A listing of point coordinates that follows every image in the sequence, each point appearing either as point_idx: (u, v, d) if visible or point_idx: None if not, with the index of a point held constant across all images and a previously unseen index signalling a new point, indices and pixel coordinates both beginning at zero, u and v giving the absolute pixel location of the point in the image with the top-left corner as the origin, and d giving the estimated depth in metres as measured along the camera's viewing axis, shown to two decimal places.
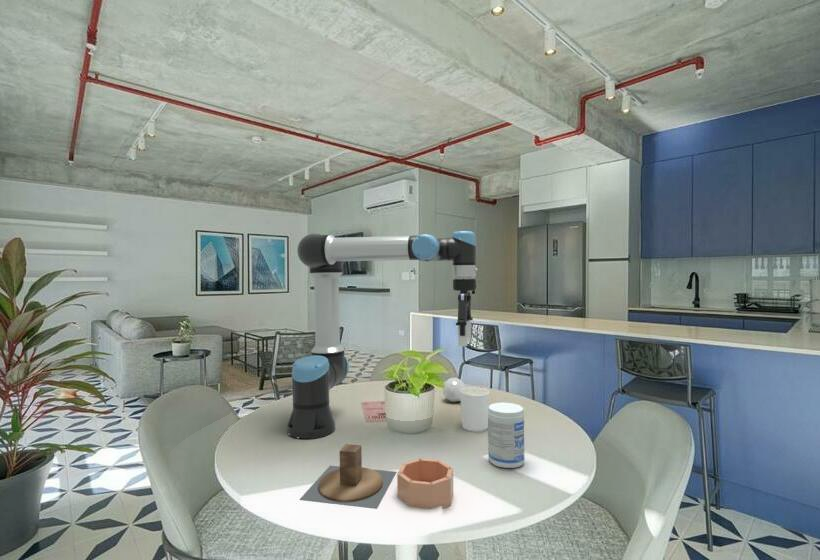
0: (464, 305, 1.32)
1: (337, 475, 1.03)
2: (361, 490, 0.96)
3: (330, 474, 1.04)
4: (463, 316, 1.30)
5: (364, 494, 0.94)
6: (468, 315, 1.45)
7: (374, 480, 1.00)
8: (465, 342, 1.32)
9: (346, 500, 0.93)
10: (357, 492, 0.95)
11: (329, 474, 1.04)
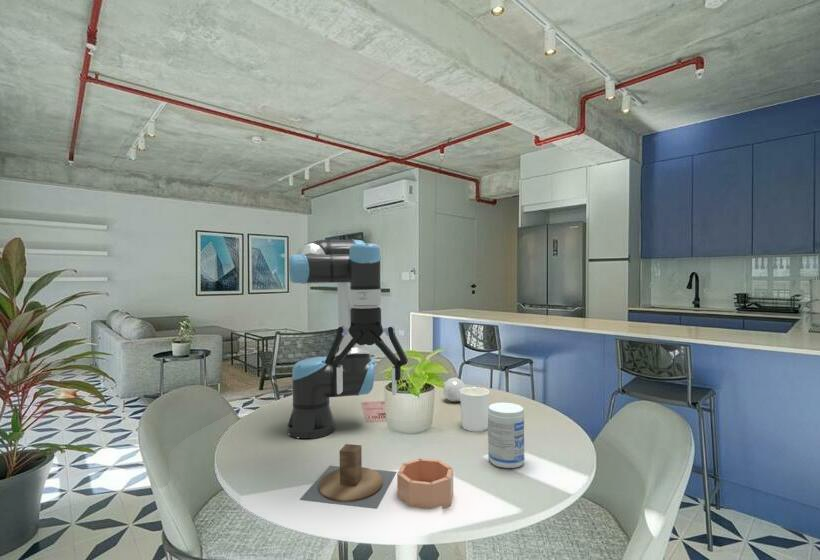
0: None
1: (337, 475, 1.03)
2: (361, 490, 0.96)
3: (330, 474, 1.04)
4: None
5: (364, 494, 0.94)
6: None
7: (374, 480, 1.00)
8: None
9: (346, 500, 0.93)
10: (357, 492, 0.95)
11: (329, 474, 1.04)
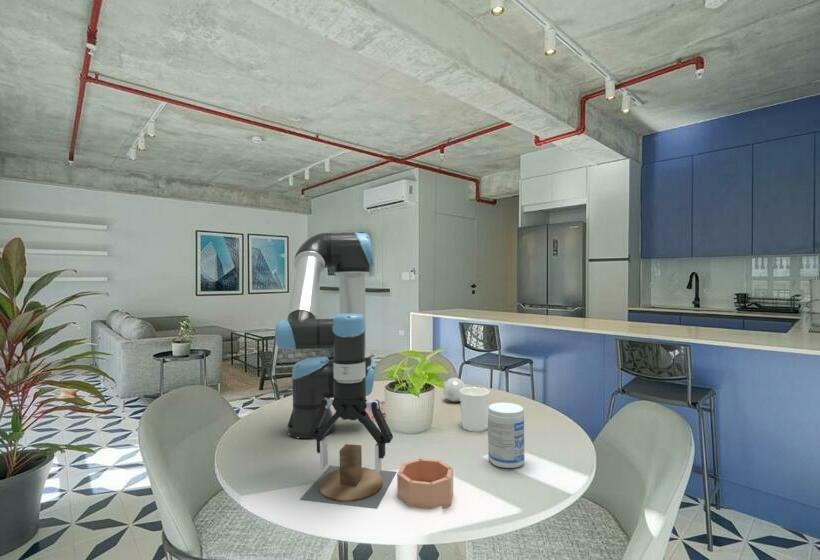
0: None
1: (337, 475, 1.03)
2: (361, 490, 0.96)
3: (330, 474, 1.04)
4: None
5: (364, 494, 0.94)
6: None
7: (374, 480, 1.00)
8: None
9: (346, 500, 0.93)
10: (357, 492, 0.95)
11: (329, 474, 1.04)
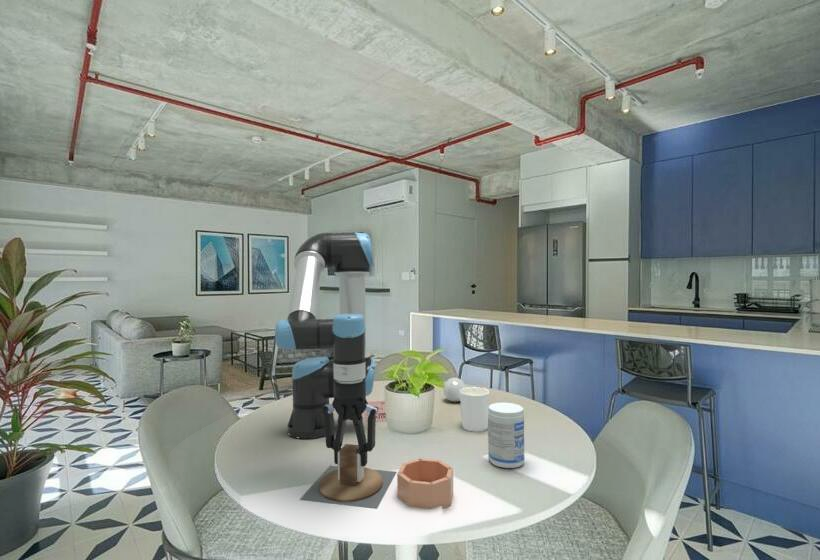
0: None
1: (337, 475, 1.03)
2: (361, 490, 0.96)
3: (330, 474, 1.04)
4: None
5: (364, 494, 0.94)
6: None
7: (374, 480, 1.00)
8: None
9: (346, 499, 0.93)
10: (357, 492, 0.95)
11: (329, 474, 1.04)
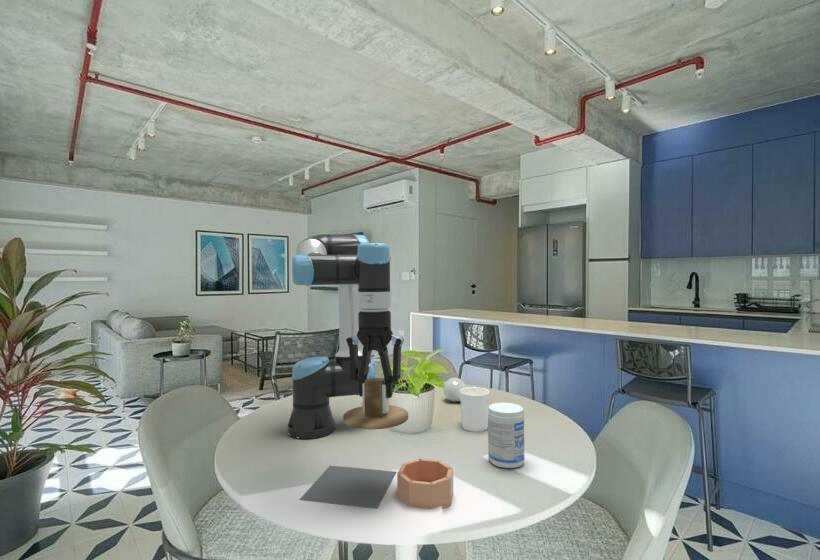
0: None
1: (362, 410, 1.01)
2: (387, 420, 0.94)
3: (354, 409, 1.02)
4: None
5: (390, 423, 0.92)
6: None
7: (400, 414, 0.98)
8: None
9: (372, 427, 0.90)
10: (382, 421, 0.93)
11: (353, 409, 1.02)
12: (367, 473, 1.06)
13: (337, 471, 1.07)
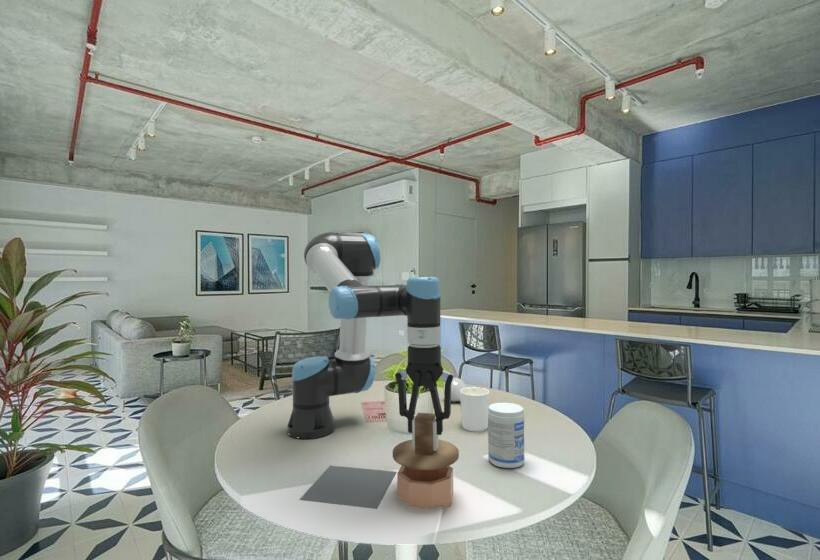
0: None
1: (409, 445, 0.99)
2: (439, 458, 0.92)
3: (401, 444, 1.00)
4: None
5: (444, 462, 0.90)
6: None
7: (450, 450, 0.96)
8: None
9: (427, 467, 0.88)
10: (436, 460, 0.91)
11: (399, 445, 0.99)
12: (367, 473, 1.06)
13: (337, 471, 1.07)
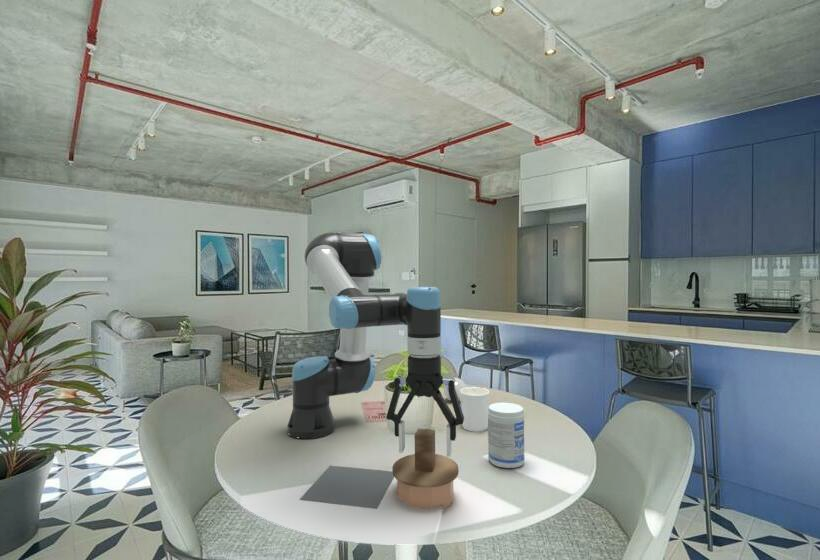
0: (393, 393, 0.97)
1: (409, 461, 0.99)
2: (439, 475, 0.92)
3: (401, 460, 1.00)
4: (389, 408, 0.97)
5: (444, 479, 0.90)
6: None
7: (450, 466, 0.96)
8: None
9: (427, 485, 0.89)
10: (435, 477, 0.91)
11: (399, 460, 1.00)
12: (367, 473, 1.06)
13: (337, 471, 1.07)
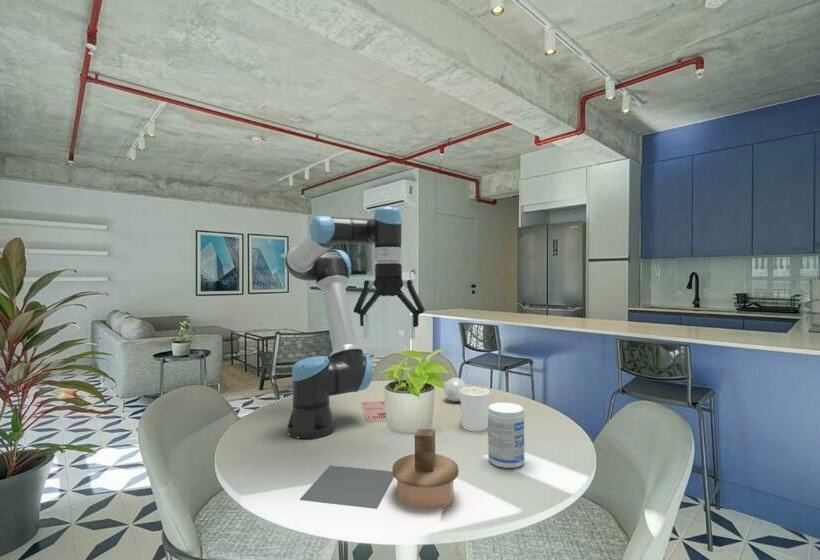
0: None
1: (409, 461, 0.99)
2: (439, 475, 0.92)
3: (401, 460, 1.00)
4: None
5: (444, 479, 0.90)
6: None
7: (450, 466, 0.96)
8: None
9: (427, 485, 0.89)
10: (435, 477, 0.91)
11: (399, 460, 1.00)
12: (367, 473, 1.06)
13: (337, 471, 1.07)
